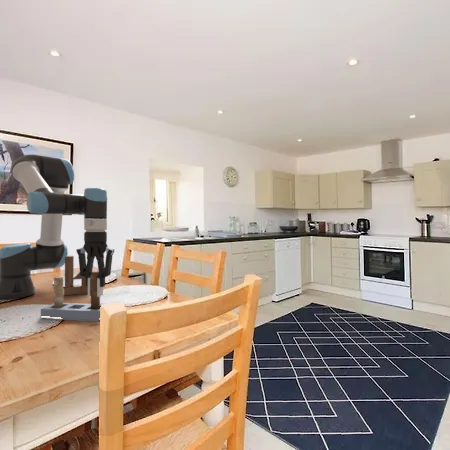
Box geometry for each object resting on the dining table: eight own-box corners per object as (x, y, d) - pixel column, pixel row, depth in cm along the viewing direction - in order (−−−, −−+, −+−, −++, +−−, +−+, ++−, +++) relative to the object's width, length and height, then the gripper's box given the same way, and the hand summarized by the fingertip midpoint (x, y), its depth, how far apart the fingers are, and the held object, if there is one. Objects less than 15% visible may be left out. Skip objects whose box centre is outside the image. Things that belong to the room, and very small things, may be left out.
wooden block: (89, 293, 139) (89, 255, 138) (64, 295, 134) (64, 256, 134) (89, 291, 142) (89, 254, 141) (64, 293, 137) (64, 255, 137)
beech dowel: (51, 316, 106) (52, 278, 105) (57, 313, 109) (57, 276, 108) (59, 317, 106) (59, 278, 105) (64, 314, 109) (65, 276, 108)
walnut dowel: (89, 311, 105) (89, 272, 104) (93, 308, 108) (93, 271, 107) (97, 311, 104) (97, 272, 104) (101, 309, 107) (101, 271, 107)
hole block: (40, 318, 104) (40, 308, 103) (55, 311, 112) (55, 302, 111) (100, 321, 102) (100, 311, 102) (110, 313, 110) (110, 304, 110)
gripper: (68, 231, 102) (68, 297, 103) (112, 231, 101) (111, 299, 102) (80, 230, 110) (80, 292, 110) (121, 230, 109) (121, 293, 109)
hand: (95, 295), depth 106 cm, fingers closed on walnut dowel, 3 cm apart
